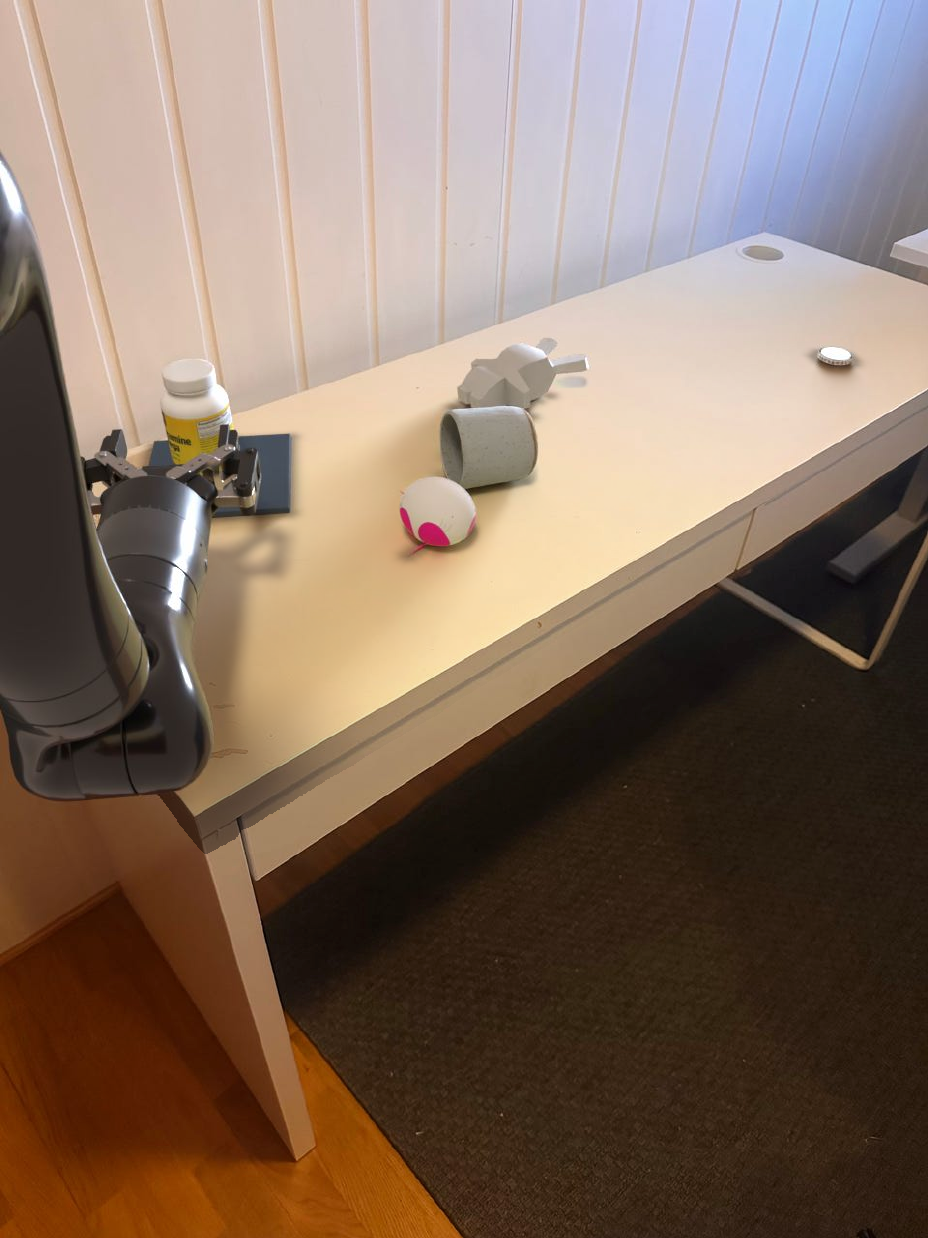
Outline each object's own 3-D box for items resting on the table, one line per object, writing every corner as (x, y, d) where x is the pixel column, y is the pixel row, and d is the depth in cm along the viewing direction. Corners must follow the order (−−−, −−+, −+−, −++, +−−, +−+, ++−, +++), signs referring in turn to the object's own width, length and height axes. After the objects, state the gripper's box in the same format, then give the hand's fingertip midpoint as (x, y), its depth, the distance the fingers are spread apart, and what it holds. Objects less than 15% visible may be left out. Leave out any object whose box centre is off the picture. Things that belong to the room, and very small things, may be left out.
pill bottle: (165, 470, 89) (140, 366, 81) (221, 450, 92) (202, 348, 84) (194, 497, 85) (171, 391, 78) (252, 476, 88) (234, 371, 81)
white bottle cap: (855, 365, 110) (856, 360, 110) (822, 364, 110) (824, 359, 110) (845, 351, 113) (847, 346, 113) (813, 350, 113) (815, 345, 113)
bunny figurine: (440, 364, 100) (541, 317, 106) (444, 404, 103) (542, 356, 109) (494, 396, 94) (597, 345, 100) (496, 437, 98) (596, 385, 104)
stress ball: (397, 558, 85) (362, 527, 79) (443, 489, 86) (412, 453, 80) (455, 590, 81) (423, 560, 75) (503, 518, 82) (475, 482, 76)
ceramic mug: (540, 490, 88) (545, 419, 83) (462, 505, 86) (463, 433, 81) (499, 440, 96) (502, 372, 91) (427, 452, 93) (426, 384, 88)
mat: (137, 522, 83) (135, 517, 83) (155, 445, 93) (154, 440, 93) (289, 512, 85) (288, 507, 84) (290, 438, 95) (289, 433, 95)
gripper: (247, 503, 60) (255, 390, 72) (26, 516, 58) (71, 398, 70) (261, 589, 65) (266, 470, 77) (57, 603, 63) (95, 479, 75)
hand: (173, 436), depth 74 cm, fingers open, 8 cm apart
